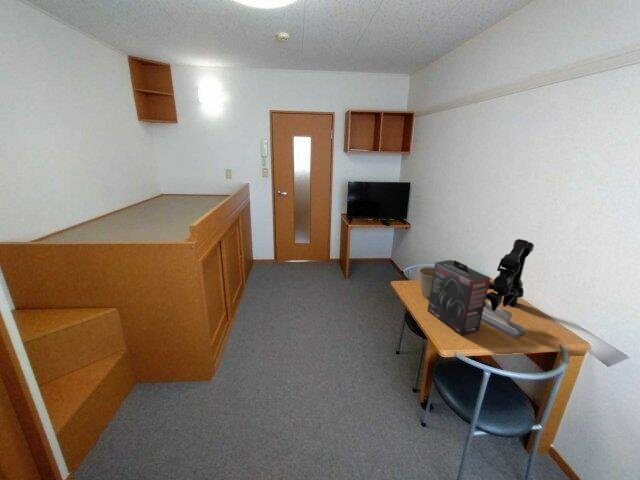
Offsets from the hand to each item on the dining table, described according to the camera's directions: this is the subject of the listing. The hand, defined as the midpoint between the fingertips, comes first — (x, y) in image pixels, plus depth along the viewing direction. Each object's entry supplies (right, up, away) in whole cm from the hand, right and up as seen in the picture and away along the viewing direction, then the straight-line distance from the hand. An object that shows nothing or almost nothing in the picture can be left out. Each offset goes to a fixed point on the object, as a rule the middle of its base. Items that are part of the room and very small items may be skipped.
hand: (498, 308), depth 148 cm
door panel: (0, -7, +2) cm, 7 cm away
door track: (0, -8, +3) cm, 9 cm away
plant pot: (-25, +1, +30) cm, 39 cm away
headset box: (-22, -7, +4) cm, 24 cm away
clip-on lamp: (-1, -3, +20) cm, 20 cm away
